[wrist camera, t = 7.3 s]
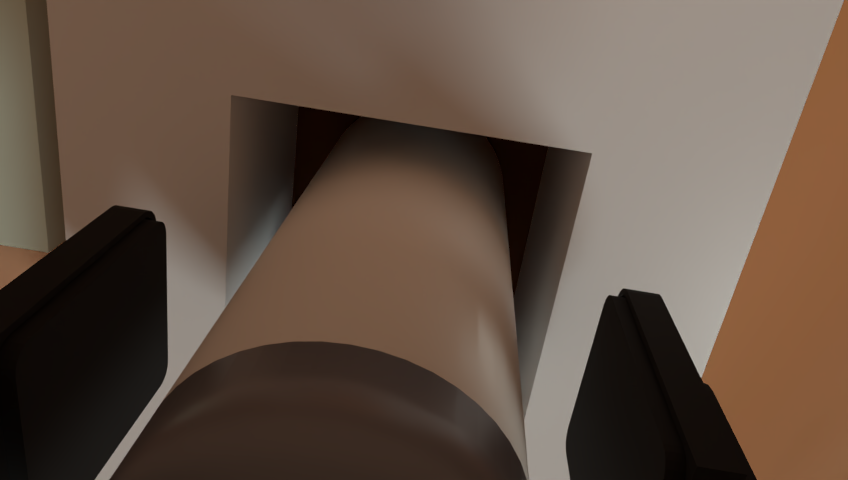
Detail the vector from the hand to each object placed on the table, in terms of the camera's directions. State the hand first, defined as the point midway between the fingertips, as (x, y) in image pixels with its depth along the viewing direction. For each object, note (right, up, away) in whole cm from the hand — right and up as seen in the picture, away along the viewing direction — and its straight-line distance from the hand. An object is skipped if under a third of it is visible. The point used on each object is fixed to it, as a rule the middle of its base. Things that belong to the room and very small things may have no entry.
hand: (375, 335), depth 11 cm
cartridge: (+1, +3, +6) cm, 7 cm away
